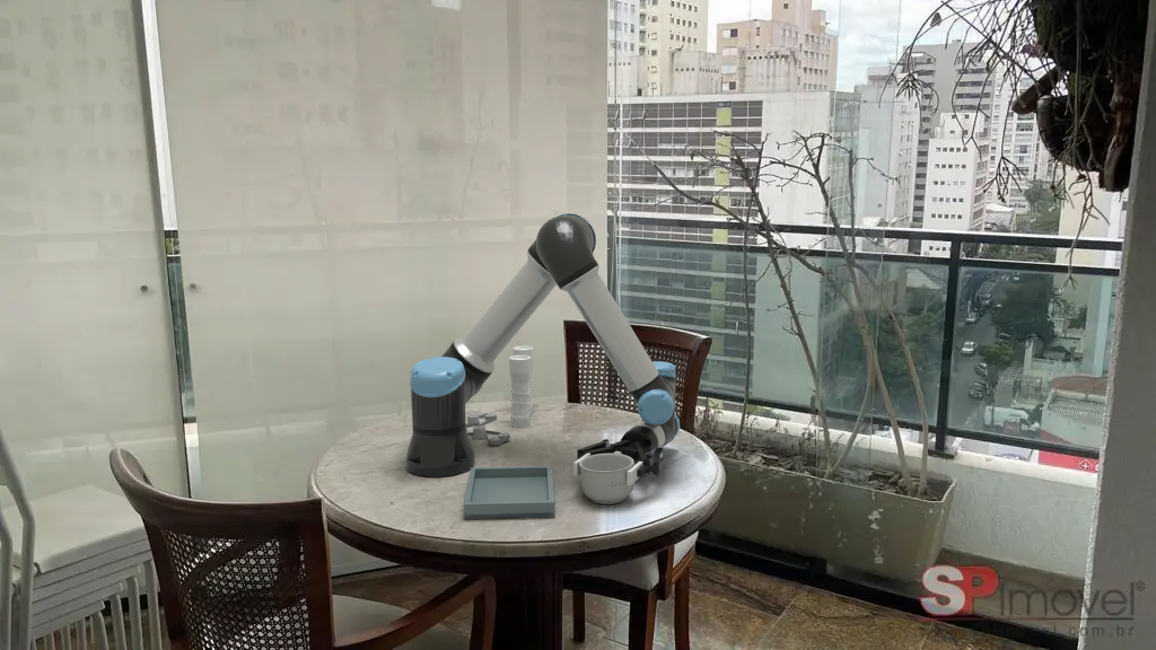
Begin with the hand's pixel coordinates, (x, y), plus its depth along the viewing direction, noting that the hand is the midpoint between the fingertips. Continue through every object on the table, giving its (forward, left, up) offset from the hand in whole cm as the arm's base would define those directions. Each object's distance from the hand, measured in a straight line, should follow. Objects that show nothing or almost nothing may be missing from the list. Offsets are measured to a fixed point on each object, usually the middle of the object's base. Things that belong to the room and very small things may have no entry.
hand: (601, 474), depth 164 cm
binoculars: (-16, +59, -6) cm, 61 cm away
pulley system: (-28, +48, -7) cm, 56 cm away
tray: (-18, +4, -6) cm, 19 cm away
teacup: (+2, +3, -6) cm, 7 cm away
